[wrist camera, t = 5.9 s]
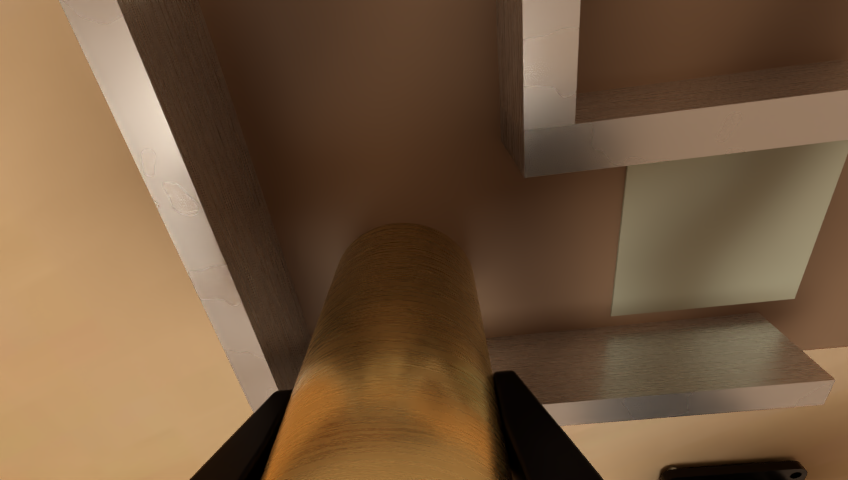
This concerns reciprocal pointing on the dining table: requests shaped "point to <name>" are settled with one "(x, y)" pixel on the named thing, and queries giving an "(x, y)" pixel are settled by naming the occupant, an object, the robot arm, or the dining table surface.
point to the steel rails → (534, 156)
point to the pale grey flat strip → (551, 194)
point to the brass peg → (395, 371)
